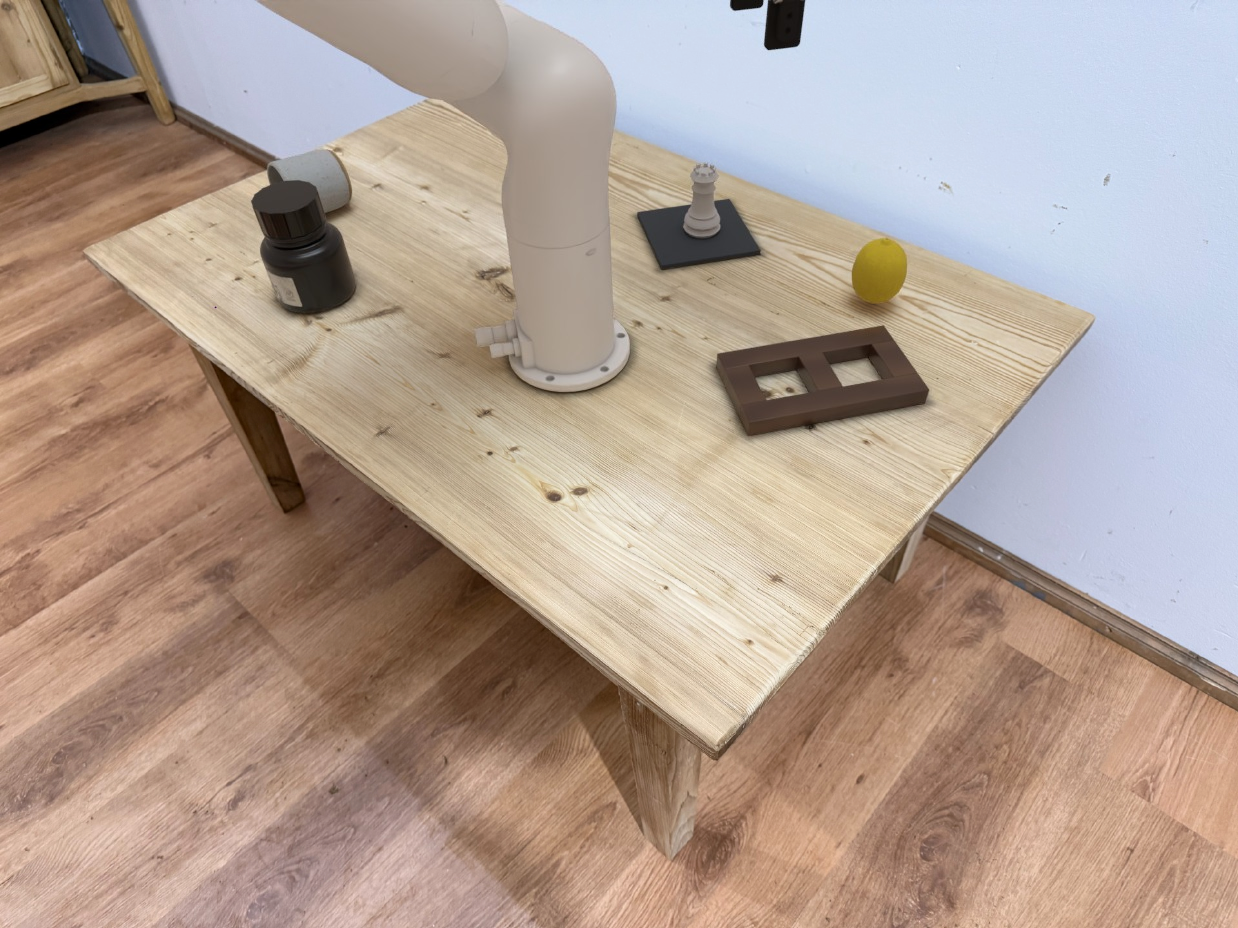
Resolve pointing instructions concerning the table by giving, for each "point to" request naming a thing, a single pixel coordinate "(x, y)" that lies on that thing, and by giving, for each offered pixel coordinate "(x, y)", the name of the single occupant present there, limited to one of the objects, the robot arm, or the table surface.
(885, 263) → the lemon
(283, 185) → the ink bottle
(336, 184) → the ceramic mug
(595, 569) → the table surface
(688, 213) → the rook chess piece
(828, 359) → the frame
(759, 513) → the table surface
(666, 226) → the mat
